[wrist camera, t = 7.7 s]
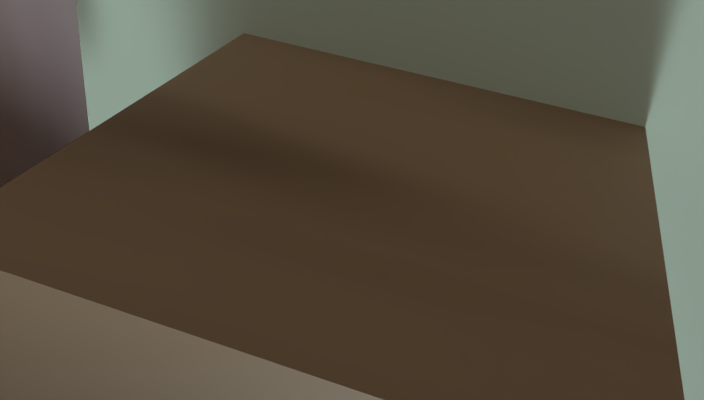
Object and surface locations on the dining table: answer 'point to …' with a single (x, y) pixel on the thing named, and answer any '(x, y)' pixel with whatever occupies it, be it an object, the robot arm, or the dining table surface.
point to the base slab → (467, 79)
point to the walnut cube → (336, 245)
